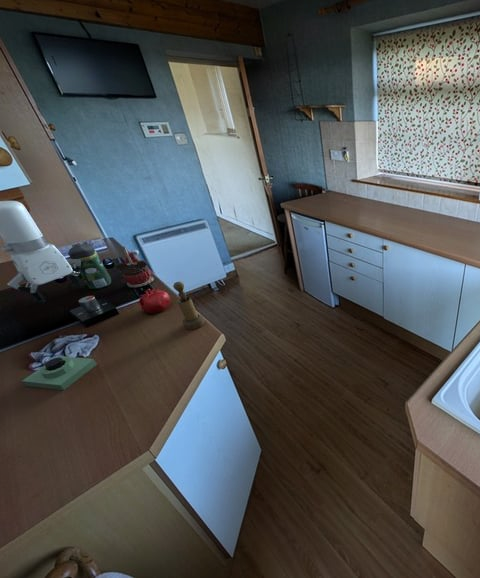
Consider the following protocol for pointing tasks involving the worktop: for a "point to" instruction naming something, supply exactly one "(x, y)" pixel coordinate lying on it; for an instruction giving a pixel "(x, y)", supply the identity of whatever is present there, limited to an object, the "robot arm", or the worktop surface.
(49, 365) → the button
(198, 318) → the mortar and pestle
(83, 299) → the knob
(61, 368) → the button box
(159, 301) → the pomegranate
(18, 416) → the worktop surface
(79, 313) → the panel
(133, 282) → the cake
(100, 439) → the worktop surface
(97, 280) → the coffee jar
